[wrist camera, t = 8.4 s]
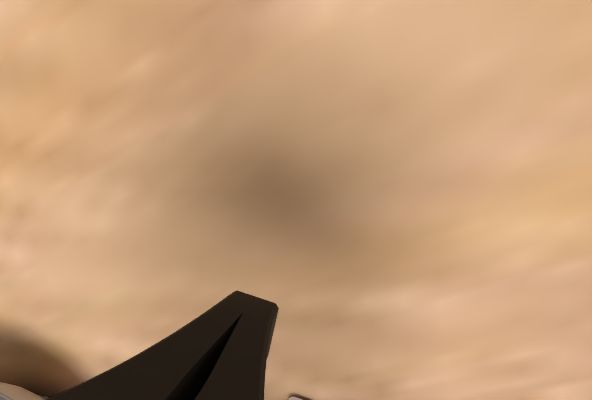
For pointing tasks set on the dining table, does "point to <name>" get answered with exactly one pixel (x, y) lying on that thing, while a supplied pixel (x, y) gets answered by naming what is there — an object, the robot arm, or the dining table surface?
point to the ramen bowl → (17, 393)
